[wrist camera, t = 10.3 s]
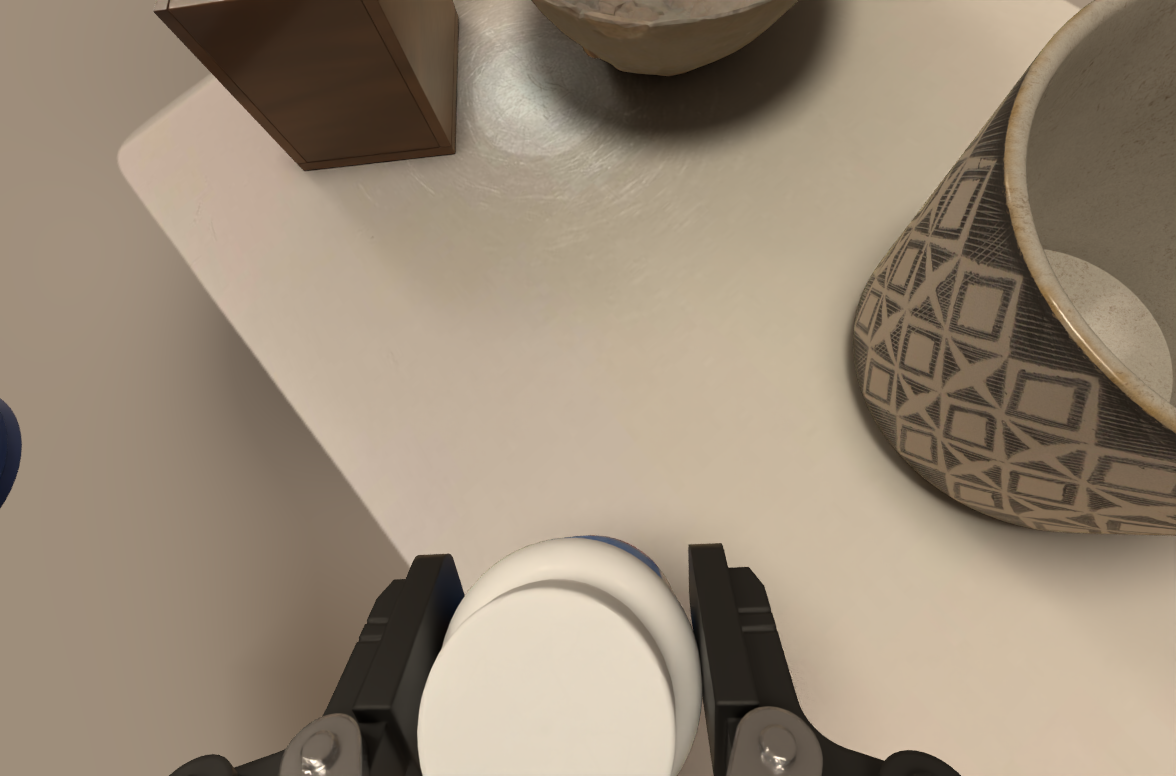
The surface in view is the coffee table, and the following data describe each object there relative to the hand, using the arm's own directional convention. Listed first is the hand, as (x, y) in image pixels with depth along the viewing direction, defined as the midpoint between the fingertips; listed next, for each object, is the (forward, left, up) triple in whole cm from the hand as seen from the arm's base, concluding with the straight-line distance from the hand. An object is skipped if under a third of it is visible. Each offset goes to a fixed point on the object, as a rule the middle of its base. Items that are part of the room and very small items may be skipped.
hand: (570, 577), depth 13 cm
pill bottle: (0, -2, -6) cm, 6 cm away
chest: (-16, +34, -19) cm, 42 cm away
